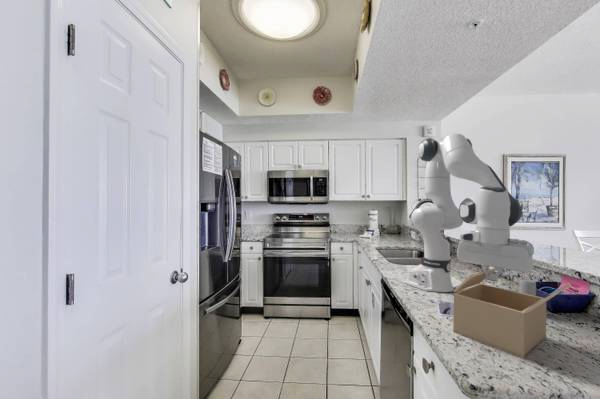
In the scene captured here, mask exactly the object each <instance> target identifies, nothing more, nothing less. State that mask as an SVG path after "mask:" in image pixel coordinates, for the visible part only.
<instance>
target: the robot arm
mask: <svg viewBox="0 0 600 399" xmlns="http://www.w3.org/2000/svg"><path fill="white" fill-rule="evenodd" d="M417 150H418V156H419V158H420V160H421V161H424V162H426V164H425V170H424V171H425V172H424V194H425V196H426V197H427V198H429V199H430V200H431V201H432V204H433V206H423V207H418V208H415V209H414V210H413V211H412V213H411V215H410V216H411V217H410V220H411V223H412V225H413V227H415V228H416V229H417V230H418V231H419V233H420V235H421V238H422V240H423V244H424V245H423V250H424V253H423V254H424V256H423V257H420V258H419V261H420V264H418V265H416V266H415V267H413V268H412V269H410V270H409V272H408V275H407V278H404V279H403V282H402V283H404V284H405V285H409V286H410V287H411V286H412V287H414V288H417V289H420V290H422V291H425V292H437V293H448V292H449V293H450V292H454V291H453V290H454V287H453V284H452V283H453V282H452V277H451V269H452V262H451V261H452V260H451V244H450V242H449V241H448V240H447V239H446V238H445V237H443V235H442V232H441V230H454V229H458V228H460V227H462V225H463V223H466V224H467V225H468V224H469V225H476V228H475V230H473V231H469V232H463V233H461V234H459V240H460V241H459V242H458V243H457V244H458V245H457V251H456V258H457V260H458V262H463V263H468V264H474V265H481V269H482V272H483V271H484V273H485V274H486V279H485V280H486V281H491V282H496V283H498V282H499V276H500V275H501V274H502V273H503V270H507V271H514V272H519V273H526V274H528V273H531V272H532V271H533V270H534V259H533V258H534V257H533V255H534V252H535V246H534V245H533V244H532V243H531V242H528V240H521V239H520V240H519V239H513V238H511V228H510V227H512V226H514V225H516V224H517V223H518V222H519V221H520V220H521V218H522V217H523V208H522V206H521V205H520V203H519V201H518V200H517V199H516V198H515V196H513V195H512V194H511V193H510V192H509V191H508V189H507V188H506V186H505V185H504V184H503V182H502V180H501V179H500V177H499V176H498V175H497V173H496V172H495V171H494V169H493V168H492V167H491V166H490V165H488V164H487V163H485V162H483V161H482V160H481V158H479V157H478V156H477V155H476V153H475V151H474V149H473V144H472V142H471V140H470V139H469V138H466V136H464V135H463V134H461V133H457V132H456V133H451V134H449V135H447V136H444V137H436V138H431V137H430V138H426V139H423V140H421V141H420V143H419V145H418V149H417ZM451 175H452V176H453V177H455V178H458V179H461V180H463V179H464V180H467V181H471V182H473V183H477V184H479V185H480V186H482V187H479V188H478V190H477V193H476V194H473V195H472V196H470V197H466V198H465V199H463V200H462V201H461V203H460V204H459V208H458V207H457V205H456V204H455V202H454V200H453V197H452V193H451V189H452V188H451ZM490 267H491V268H495V271H494V272H495V273H494V274H493V273H492V274H490V272H489V269H490Z"/></svg>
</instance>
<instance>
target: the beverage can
mask: <svg viewBox="0 0 600 399" xmlns="http://www.w3.org/2000/svg"><path fill="white" fill-rule="evenodd" d="M518 282H519V285H518V286H519V287H518V288H519V291H518V292H520V293H524V294H528V295H533V296H537V283H536V281H535V280H533V279H532V280H531V279H526V278H520V279H519V281H518Z"/></svg>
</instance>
